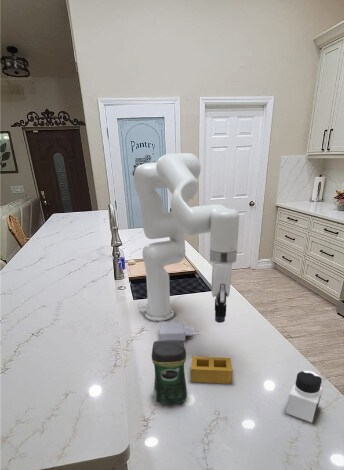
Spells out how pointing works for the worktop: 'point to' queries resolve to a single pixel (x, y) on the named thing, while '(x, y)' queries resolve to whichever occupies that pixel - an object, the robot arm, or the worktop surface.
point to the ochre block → (211, 369)
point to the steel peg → (219, 319)
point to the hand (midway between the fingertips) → (220, 313)
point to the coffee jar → (169, 371)
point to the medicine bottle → (305, 396)
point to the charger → (174, 331)
